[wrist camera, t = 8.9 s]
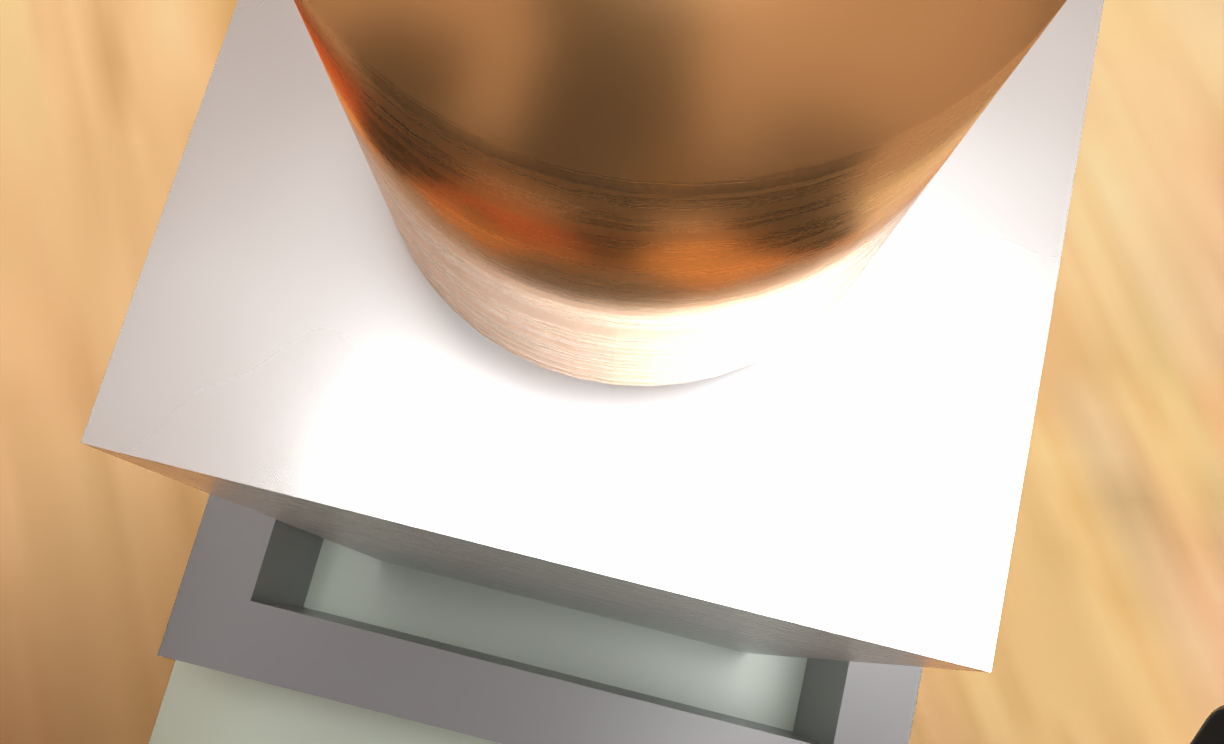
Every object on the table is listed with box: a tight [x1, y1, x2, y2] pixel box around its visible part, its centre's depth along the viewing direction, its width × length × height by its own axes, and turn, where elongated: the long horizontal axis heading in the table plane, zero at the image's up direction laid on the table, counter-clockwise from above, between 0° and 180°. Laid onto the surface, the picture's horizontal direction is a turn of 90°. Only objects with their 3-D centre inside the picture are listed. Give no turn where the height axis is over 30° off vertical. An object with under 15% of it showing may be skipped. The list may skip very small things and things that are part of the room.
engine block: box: [81, 0, 1104, 672], centre depth 10 cm, size 5×5×12 cm
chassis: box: [149, 494, 922, 744], centre depth 14 cm, size 17×9×6 cm, turn 166°
